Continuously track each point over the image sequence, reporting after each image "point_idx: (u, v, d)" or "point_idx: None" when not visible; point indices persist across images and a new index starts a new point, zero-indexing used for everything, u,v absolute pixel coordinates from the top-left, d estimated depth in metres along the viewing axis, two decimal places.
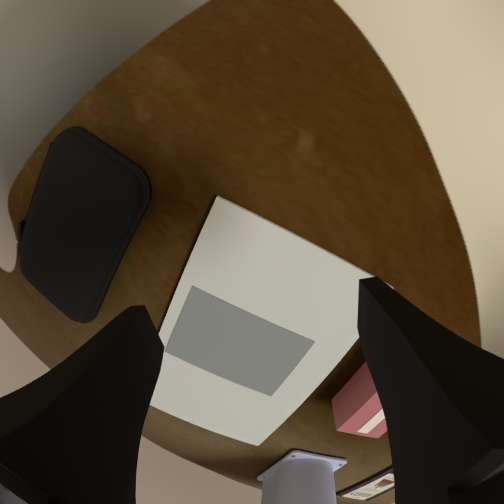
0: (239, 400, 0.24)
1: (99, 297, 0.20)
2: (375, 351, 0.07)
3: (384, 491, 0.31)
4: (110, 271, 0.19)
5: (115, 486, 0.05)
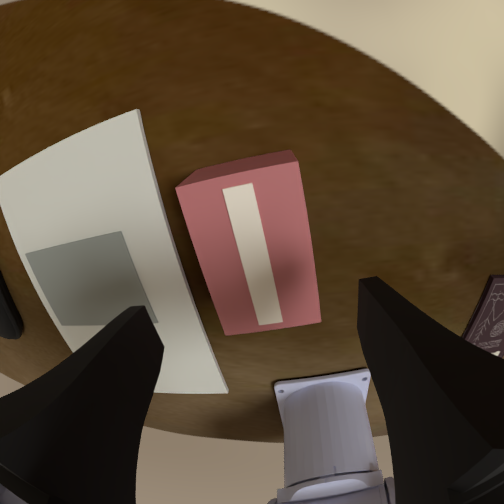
0: None
1: (4, 308, 0.19)
2: (375, 351, 0.07)
3: None
4: None
5: (115, 486, 0.05)
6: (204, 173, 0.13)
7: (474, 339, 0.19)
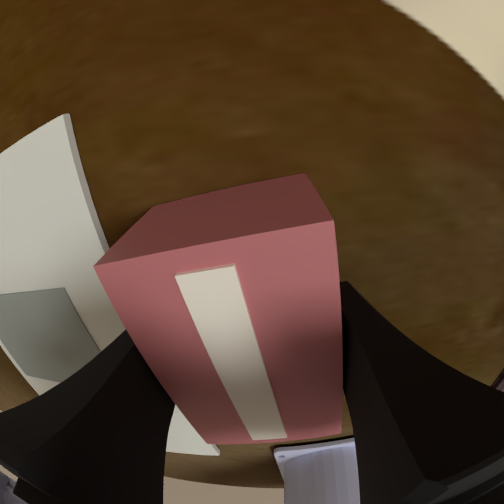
0: None
1: None
2: None
3: None
4: None
5: (144, 494, 0.05)
6: (153, 226, 0.07)
7: (503, 388, 0.14)
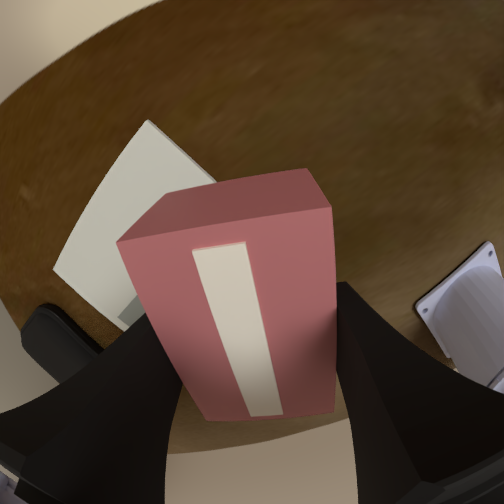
0: None
1: None
2: (340, 358, 0.07)
3: None
4: None
5: (146, 494, 0.05)
6: (169, 209, 0.08)
7: None
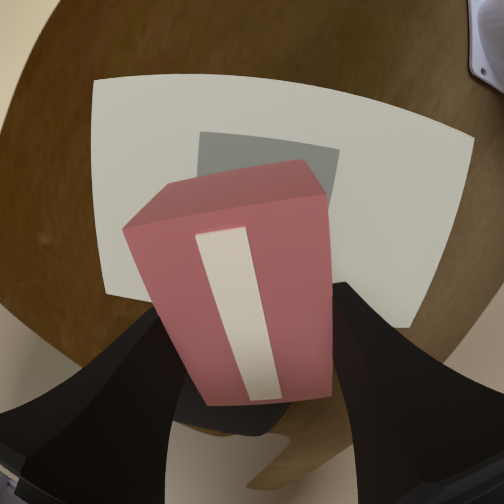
0: (367, 196, 0.14)
1: None
2: (340, 358, 0.07)
3: None
4: None
5: (146, 494, 0.05)
6: (172, 198, 0.08)
7: None
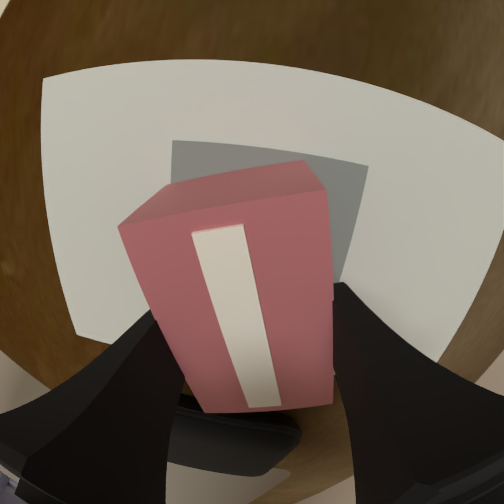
0: (400, 228, 0.11)
1: (245, 426, 0.16)
2: (338, 358, 0.07)
3: None
4: (202, 418, 0.15)
5: (147, 494, 0.05)
6: (169, 197, 0.08)
7: None
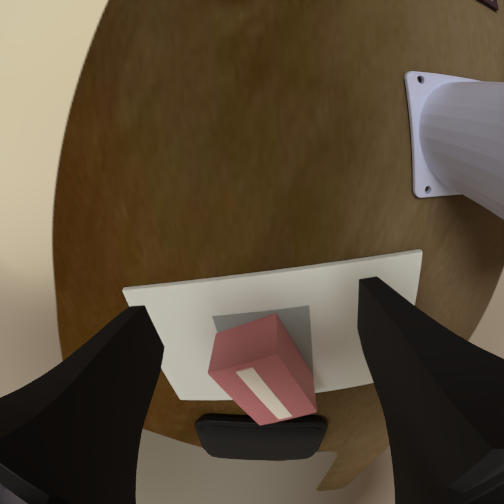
0: (337, 323, 0.21)
1: (289, 426, 0.26)
2: (375, 351, 0.07)
3: None
4: (262, 426, 0.26)
5: (115, 486, 0.05)
6: (222, 351, 0.19)
7: None
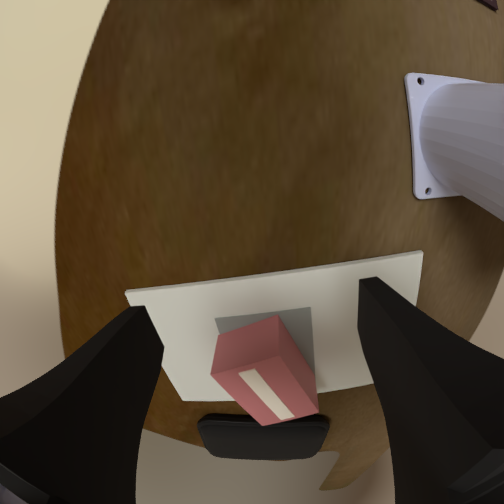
0: (339, 324, 0.21)
1: (291, 426, 0.26)
2: (375, 351, 0.07)
3: None
4: (265, 426, 0.26)
5: (115, 486, 0.05)
6: (224, 353, 0.19)
7: None
